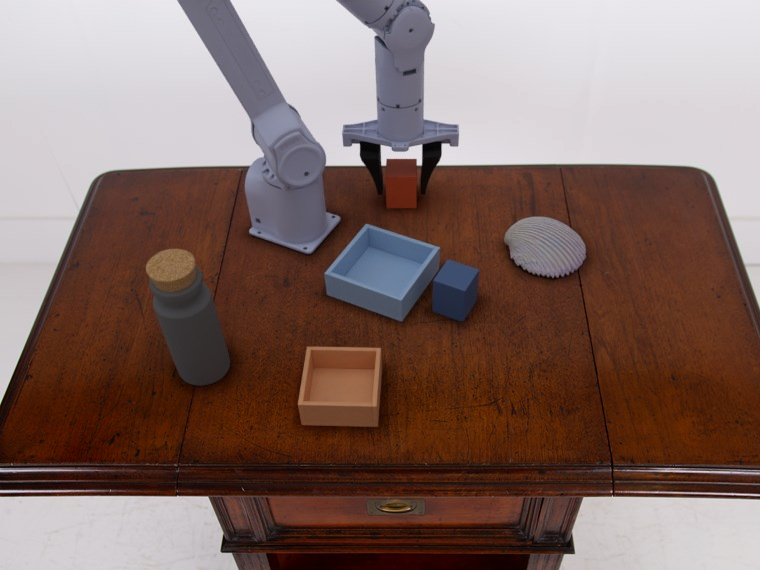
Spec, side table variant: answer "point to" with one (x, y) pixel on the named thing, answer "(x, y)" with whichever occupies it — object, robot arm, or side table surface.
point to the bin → (382, 272)
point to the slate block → (455, 290)
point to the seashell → (545, 246)
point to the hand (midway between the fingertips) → (401, 190)
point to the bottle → (187, 317)
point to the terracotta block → (401, 183)
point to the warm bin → (341, 386)
